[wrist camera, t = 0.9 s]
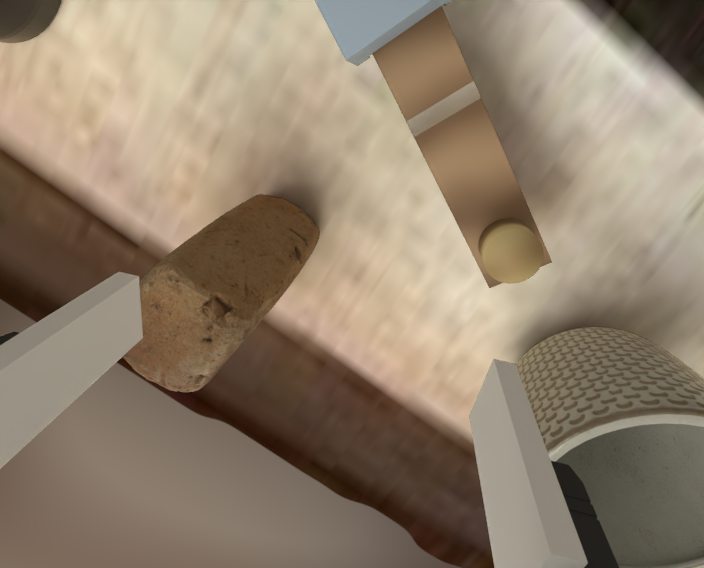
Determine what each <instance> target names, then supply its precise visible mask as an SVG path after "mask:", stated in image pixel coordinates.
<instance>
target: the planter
mask: <svg viewBox="0 0 704 568" xmlns="http://www.w3.org/2000/svg"><path fill="white" fill-rule="evenodd" d="M516 367H517V370H518V373H519V376H520V378H521V381H522V384H523V387H524V389H525V392H526V395H527V397H528V400H529V403H530V406H531V408H532V411H533V414H534V417H535V419H536V422H537V425H538V428H539V430H540V433H541V436H542V438H543V441H544V444H545V447H546V449H547V452H548V455H549V458H550V460H551V461H555V462H559V463H563V464H567V465H569V466H570V467H571V468H572V469H573V471H574V472H575V473H576V475H577V476H578V477H579V478H580V480H581V481H582V482H583V484H584V486H585V489H586V491H587V493H588V496H589V498H590V500H591V502H590V503H591V505H593V507H594V510H595V512H596V514H597V520H599V521H600V524H601V526H602V528H603V531H604V533H605V535H606V538H607V540H608V542H609V545H610V547H611V549H612V552H613V554H614V556H615V559H616V561H617V563H618V566H619V568H704V378H703V377H701V376H700V375H699V374H697V373H696V372H695V371H693V370H692V369H691V368H690V367H688V366H687V365H686V364H684V363H683V362H682V361H680V360H679V359H678V358H676V357H675V356H673V355H672V354H670V353H669V352H667V351H666V350H664V349H663V348H661V347H660V346H658V345H656V344H655V343H653V342H651V341H649V340H647V339H645V338H643V337H640V336H638V335H636V334H633V333H630V332H626V331H622V330H619V329H614V328H606V327H585V328H577V329H572V330H568V331H564V332H561V333H558V334H556V335H553V336H551V337H549V338H547V339H545V340H543V341H541V342H539V343H538V344H536V345H535V346H534V347H532V348H531V349H530V350H528V351H527V352H526V353H525V354H524V355H523V356H522V357H521V359H520V360H519V361H518V363H517V364H516Z"/></svg>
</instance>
